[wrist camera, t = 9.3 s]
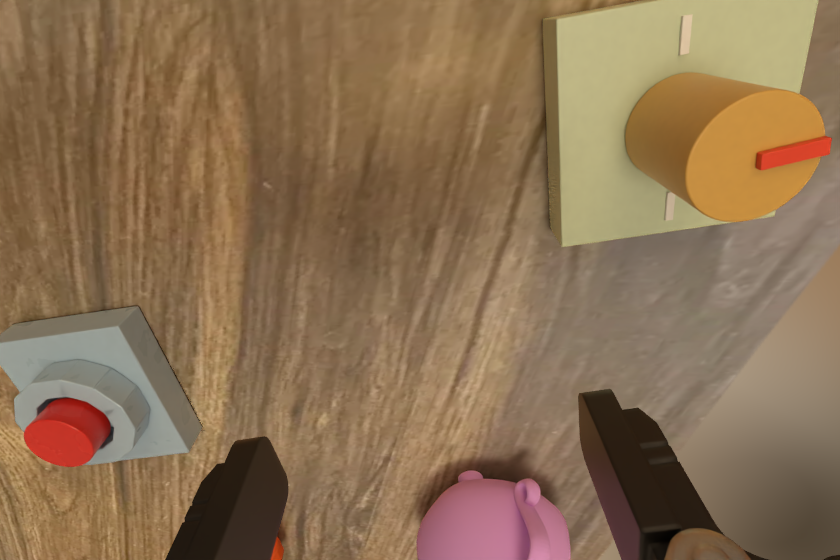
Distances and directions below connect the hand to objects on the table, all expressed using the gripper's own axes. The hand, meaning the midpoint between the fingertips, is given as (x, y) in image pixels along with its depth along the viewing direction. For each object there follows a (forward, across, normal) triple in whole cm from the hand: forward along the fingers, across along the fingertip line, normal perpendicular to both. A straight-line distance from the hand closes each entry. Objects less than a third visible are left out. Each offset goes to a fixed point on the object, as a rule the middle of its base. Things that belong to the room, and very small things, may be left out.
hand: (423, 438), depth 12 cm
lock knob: (+12, -12, -3) cm, 17 cm away
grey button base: (+15, +22, +7) cm, 27 cm away
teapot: (+15, 0, +25) cm, 29 cm away
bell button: (+11, +22, +7) cm, 25 cm away
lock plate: (+15, -12, -3) cm, 19 cm away
